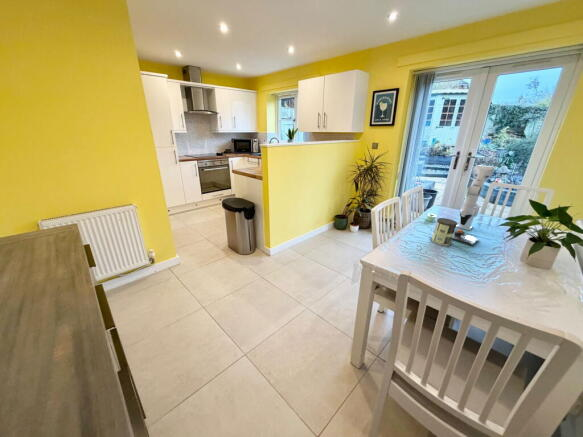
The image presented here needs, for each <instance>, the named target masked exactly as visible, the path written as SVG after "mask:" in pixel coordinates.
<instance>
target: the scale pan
mask: <svg viewBox="0 0 583 437" xmlns="http://www.w3.org/2000/svg"><path fill="white" fill-rule="evenodd" d="M461 238H463V239H466V240H470V241H474V240H475V238H476V237H474V236H472V235H468V234H465V235H461Z"/></svg>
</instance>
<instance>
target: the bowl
mask: <svg viewBox="0 0 583 437" xmlns="http://www.w3.org/2000/svg"><path fill="white" fill-rule="evenodd" d="M436 217H437V215H436V214H433V213H427V215H426V221H427V222H429V223H430V222H431V223H434V222H435V220H436Z"/></svg>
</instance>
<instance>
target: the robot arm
mask: <svg viewBox="0 0 583 437" xmlns="http://www.w3.org/2000/svg"><path fill="white" fill-rule="evenodd" d="M495 168H496V167H495V166H490V165H482V164H477V165H475V166H474V169H473V174H472V176H473V178H474V179H473V180H472V182H471V184H470V186H468V188H467V190H466V196H465V200H464V202H463V203H462V205H461V208H460V209H459V217H460V218H459V221H458V222H457V225H456V228H459V229H461V230H465V231H469V230H471V229H472V228H473V226H472V224H473V222H474V218H476V217H477V216H478V214H479V211H480V207H481V206H480V205H479V204H478V203H477V202H478V199H479V198H480V196H481V194H482V191H483V187H484V184H485V182H486V181H489V180H491V178H492V176H493V174H494V171H495Z"/></svg>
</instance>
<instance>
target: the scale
mask: <svg viewBox="0 0 583 437" xmlns="http://www.w3.org/2000/svg"><path fill="white" fill-rule="evenodd" d="M458 230H459V229H455V231H454V234H453V237H452V240H451V241H454V242H458V243H461V244H464V245H467V246H469V247H473V246H474V245H475V244H476V243H478V241H479V238H476V237H474V238H475V240H474V241H470V240H466V239H463V238H461V235H466V232H465V231H463V232H462V233H459V232H458Z"/></svg>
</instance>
